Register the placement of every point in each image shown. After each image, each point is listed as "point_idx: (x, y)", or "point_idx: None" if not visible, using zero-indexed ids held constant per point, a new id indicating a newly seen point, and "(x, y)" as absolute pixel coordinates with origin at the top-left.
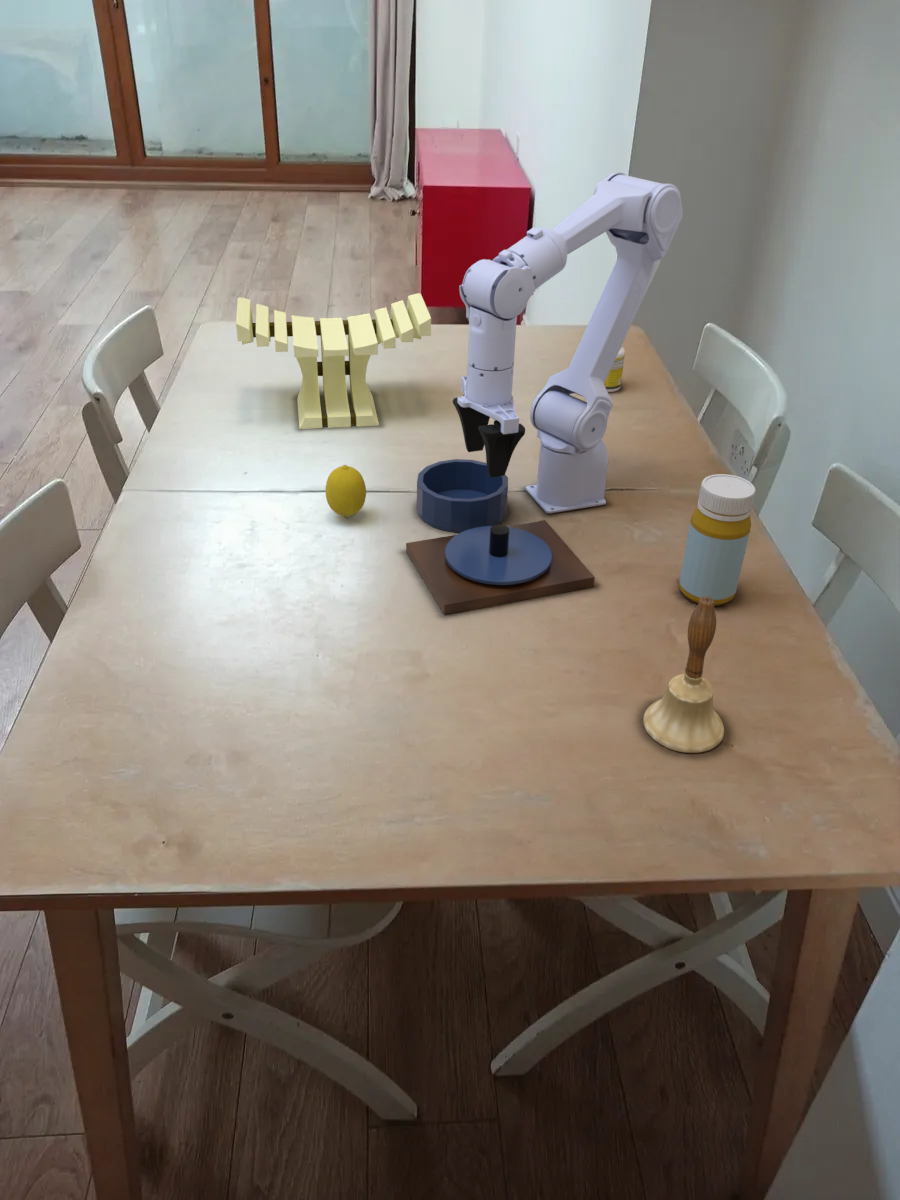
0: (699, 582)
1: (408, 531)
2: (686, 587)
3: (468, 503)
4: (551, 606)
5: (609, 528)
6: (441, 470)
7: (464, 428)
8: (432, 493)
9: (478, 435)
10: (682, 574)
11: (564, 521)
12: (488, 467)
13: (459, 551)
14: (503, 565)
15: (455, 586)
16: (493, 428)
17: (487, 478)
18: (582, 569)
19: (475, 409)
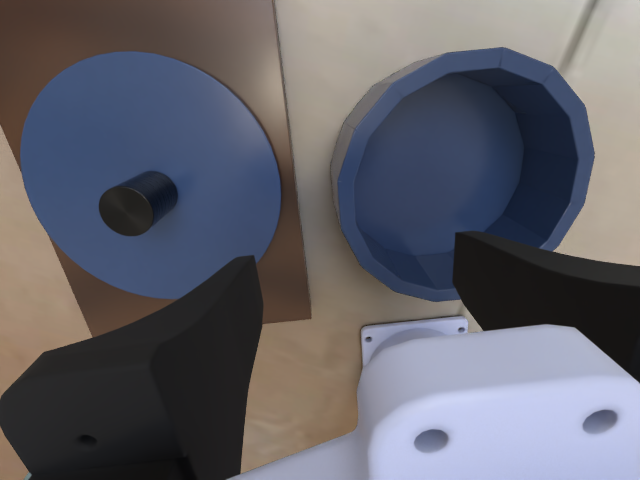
0: (27, 475)
1: (375, 9)
2: None
3: (338, 174)
4: (36, 244)
5: (292, 398)
6: (563, 154)
7: (521, 258)
8: (413, 79)
9: (485, 300)
10: None
11: (331, 344)
12: (225, 267)
13: (164, 97)
14: (95, 188)
15: (37, 50)
16: (95, 450)
17: None
18: None
19: (279, 465)
